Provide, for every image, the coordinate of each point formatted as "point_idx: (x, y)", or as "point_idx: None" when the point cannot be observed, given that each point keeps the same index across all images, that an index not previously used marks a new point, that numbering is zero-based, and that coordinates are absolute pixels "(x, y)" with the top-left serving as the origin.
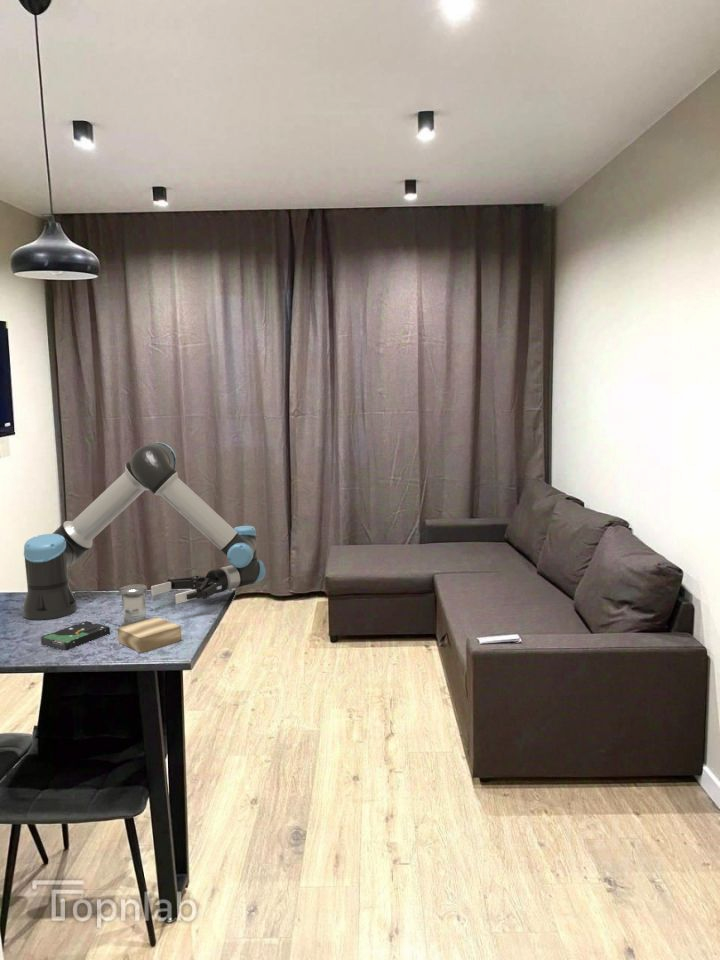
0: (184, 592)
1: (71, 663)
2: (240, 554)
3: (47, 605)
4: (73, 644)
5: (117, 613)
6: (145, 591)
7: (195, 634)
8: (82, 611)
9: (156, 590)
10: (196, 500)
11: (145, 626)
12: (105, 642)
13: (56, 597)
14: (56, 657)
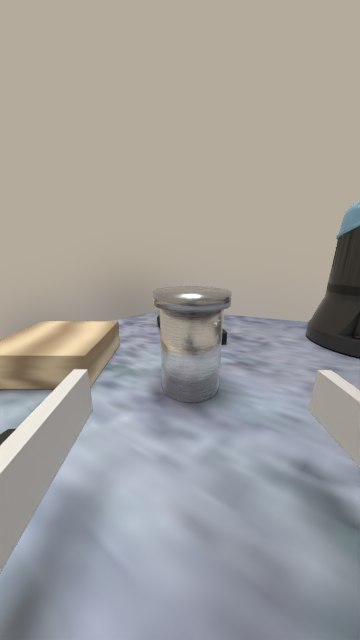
0: (44, 405)
1: (117, 319)
2: None
3: (314, 314)
4: (158, 322)
5: (305, 389)
6: (158, 304)
7: None
8: (350, 362)
9: (328, 408)
10: None
11: (69, 333)
12: (138, 339)
13: (326, 308)
14: (147, 318)
